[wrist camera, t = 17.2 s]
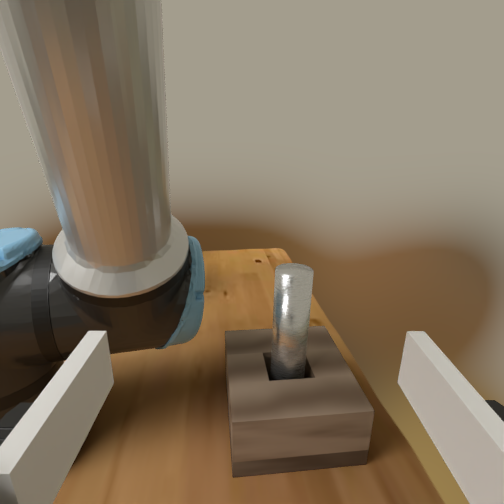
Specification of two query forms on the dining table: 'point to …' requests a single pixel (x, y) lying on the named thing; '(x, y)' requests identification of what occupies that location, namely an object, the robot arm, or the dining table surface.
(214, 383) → the dining table surface
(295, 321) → the steel pin
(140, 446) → the dining table surface
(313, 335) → the socket block
